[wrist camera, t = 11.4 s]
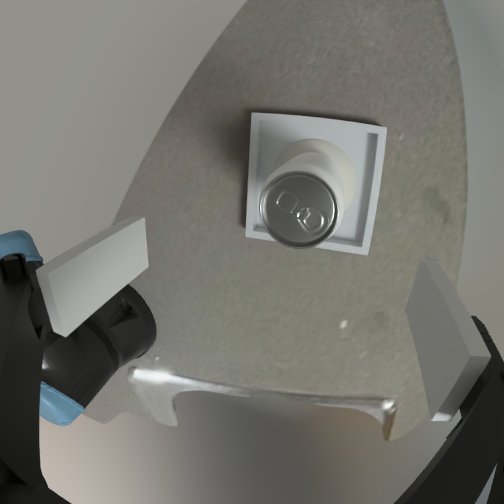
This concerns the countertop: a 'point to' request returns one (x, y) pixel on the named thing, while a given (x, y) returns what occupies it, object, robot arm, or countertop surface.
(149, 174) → the countertop surface
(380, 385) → the countertop surface
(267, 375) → the countertop surface
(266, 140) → the flange tray
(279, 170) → the can
